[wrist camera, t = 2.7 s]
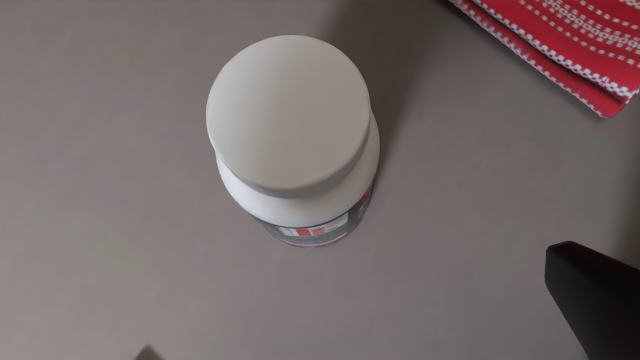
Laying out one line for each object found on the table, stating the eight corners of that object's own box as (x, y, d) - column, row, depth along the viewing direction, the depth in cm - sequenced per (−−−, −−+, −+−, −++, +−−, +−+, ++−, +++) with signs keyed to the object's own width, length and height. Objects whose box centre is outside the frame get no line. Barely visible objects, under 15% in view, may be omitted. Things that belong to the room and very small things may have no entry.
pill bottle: (384, 230, 21) (418, 178, 12) (270, 263, 21) (208, 237, 12) (350, 123, 23) (355, -3, 13) (242, 153, 23) (168, 49, 13)
